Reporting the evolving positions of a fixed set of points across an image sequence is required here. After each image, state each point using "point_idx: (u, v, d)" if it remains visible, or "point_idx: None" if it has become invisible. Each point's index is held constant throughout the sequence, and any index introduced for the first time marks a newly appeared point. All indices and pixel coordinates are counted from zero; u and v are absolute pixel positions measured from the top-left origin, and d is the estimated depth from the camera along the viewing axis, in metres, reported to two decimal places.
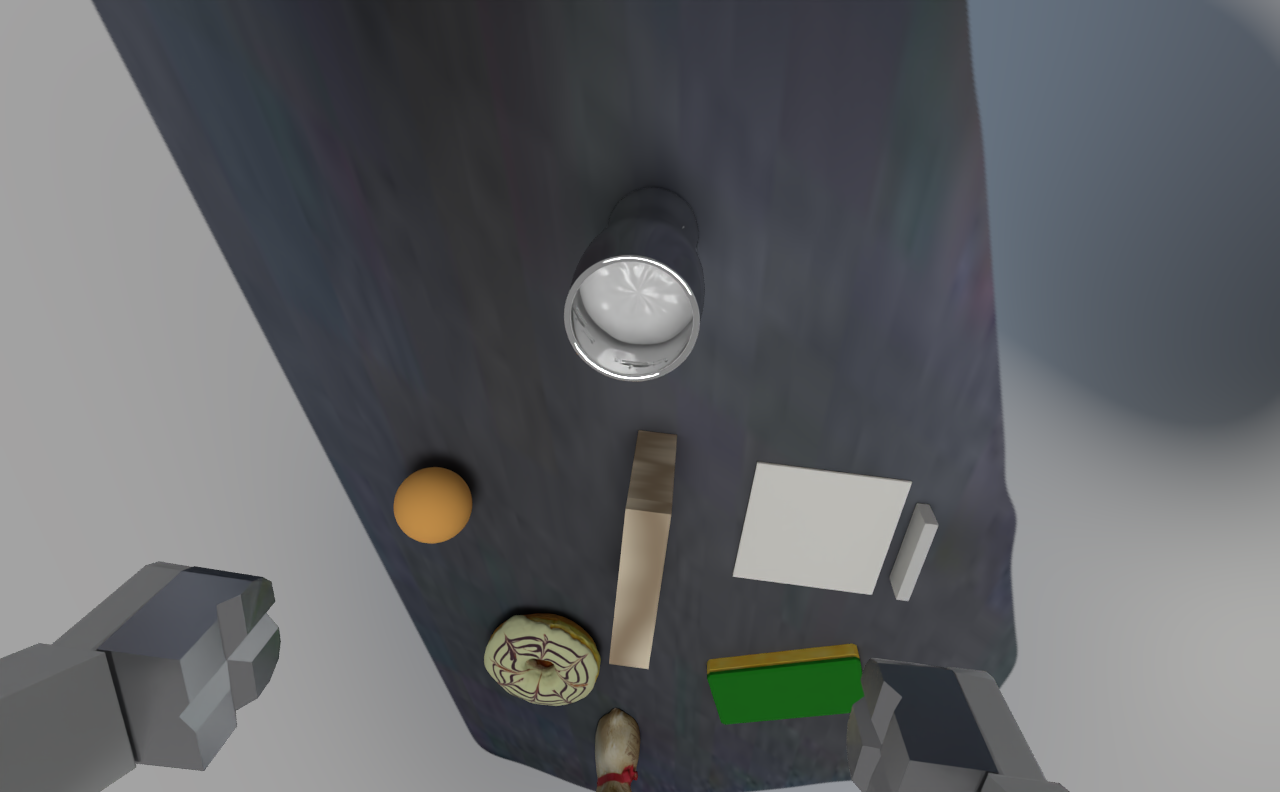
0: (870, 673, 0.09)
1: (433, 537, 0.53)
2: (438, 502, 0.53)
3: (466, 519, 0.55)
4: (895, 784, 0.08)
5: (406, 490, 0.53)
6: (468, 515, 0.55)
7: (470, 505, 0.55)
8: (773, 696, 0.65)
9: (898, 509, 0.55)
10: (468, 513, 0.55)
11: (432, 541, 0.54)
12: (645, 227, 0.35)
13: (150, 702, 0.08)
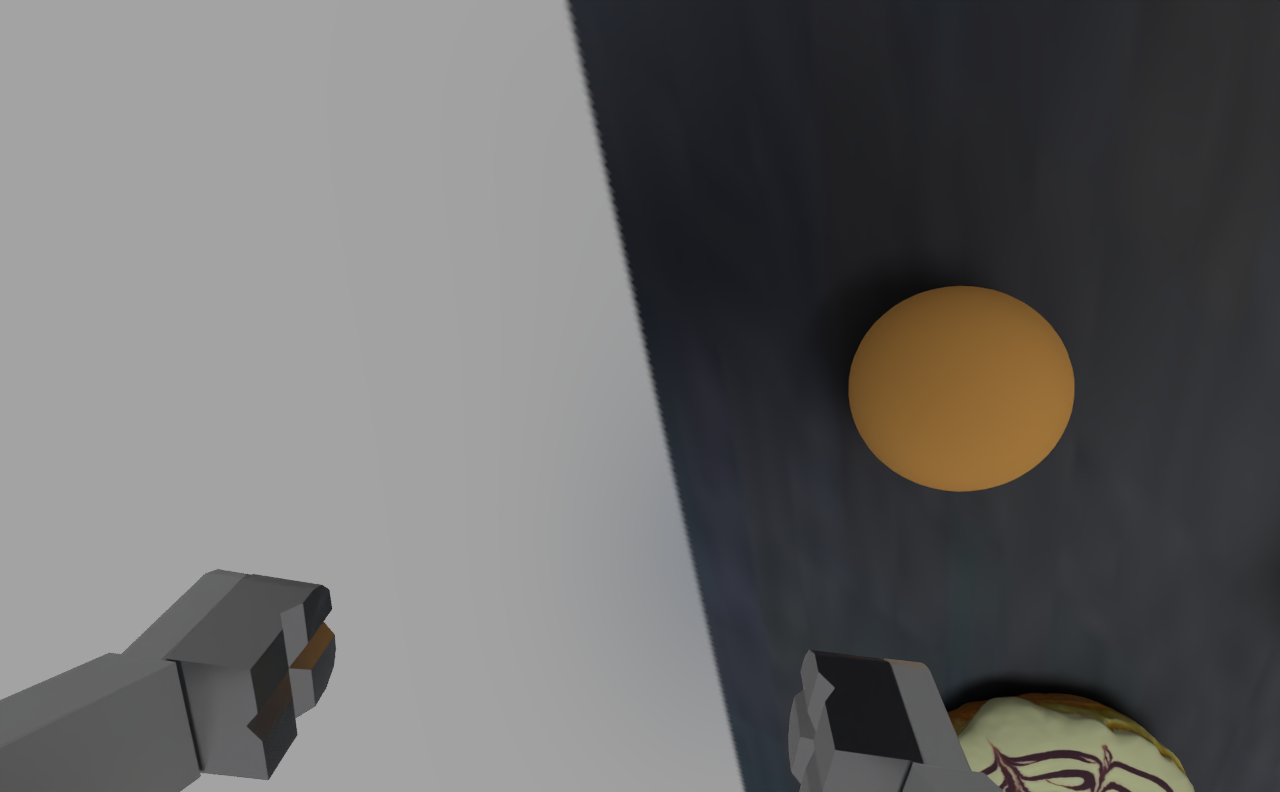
0: (808, 665, 0.09)
1: (1015, 462, 0.18)
2: (1046, 354, 0.18)
3: None
4: (823, 774, 0.08)
5: (939, 325, 0.18)
6: None
7: None
8: None
9: None
10: None
11: (993, 479, 0.19)
12: None
13: (218, 712, 0.08)
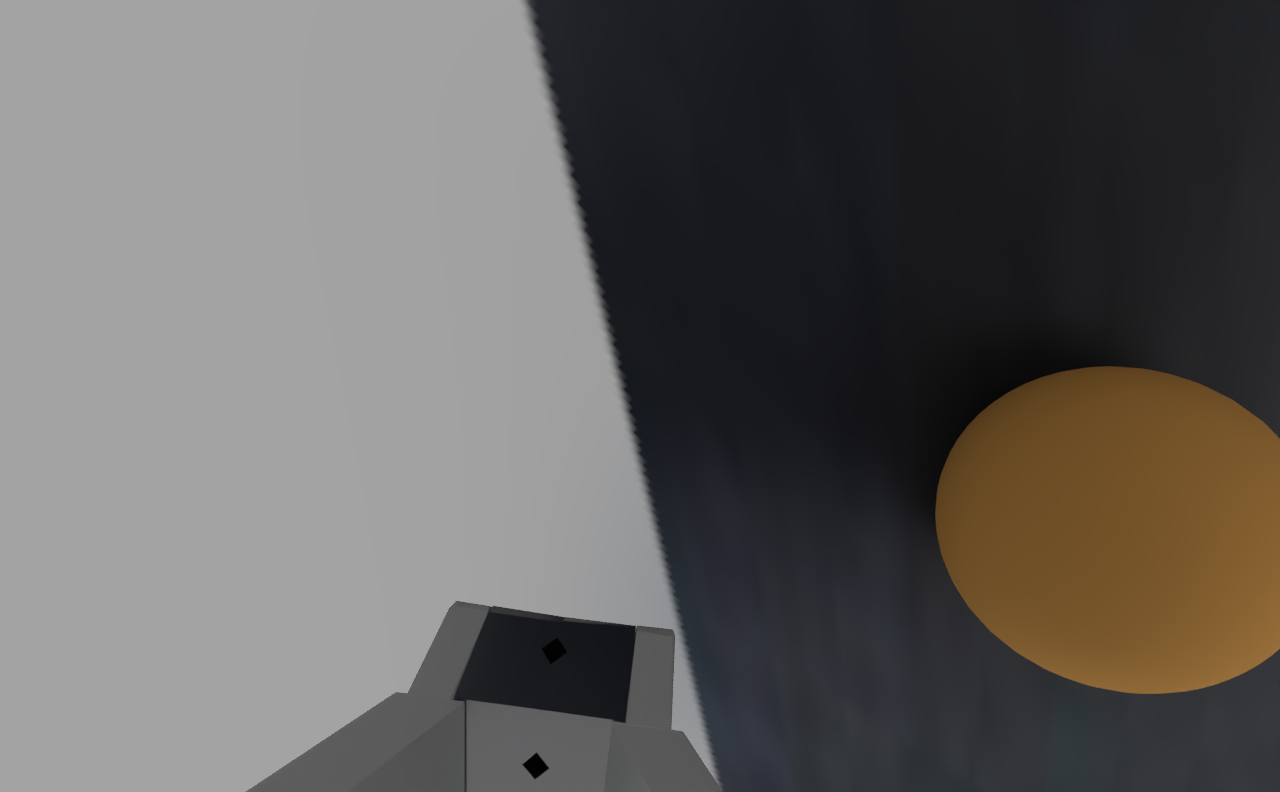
0: None
1: (1233, 671, 0.11)
2: None
3: None
4: (539, 735, 0.08)
5: (1109, 446, 0.11)
6: None
7: None
8: None
9: None
10: None
11: (1187, 689, 0.12)
12: None
13: (496, 750, 0.08)
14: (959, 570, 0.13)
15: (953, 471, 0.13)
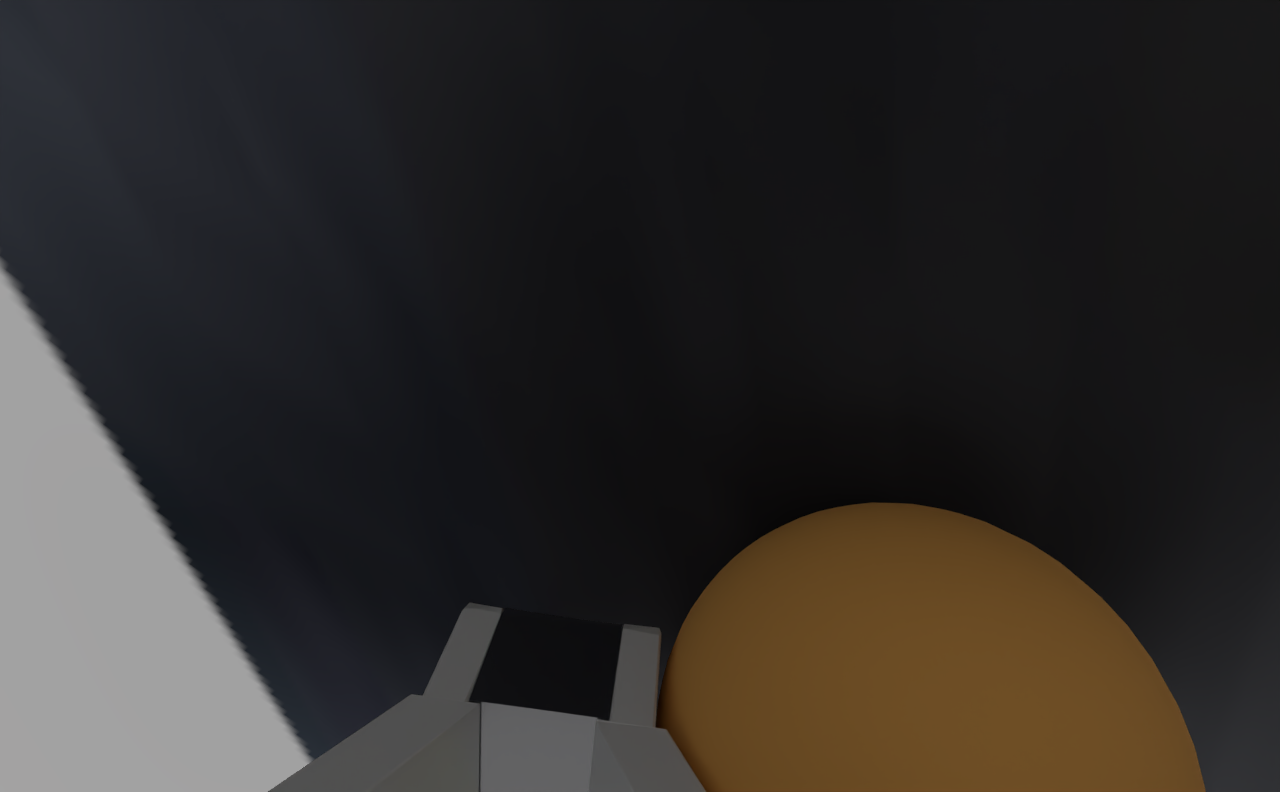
0: None
1: None
2: (1176, 750, 0.06)
3: None
4: (523, 733, 0.08)
5: (912, 782, 0.06)
6: None
7: None
8: None
9: None
10: None
11: None
12: None
13: (511, 752, 0.08)
14: None
15: None
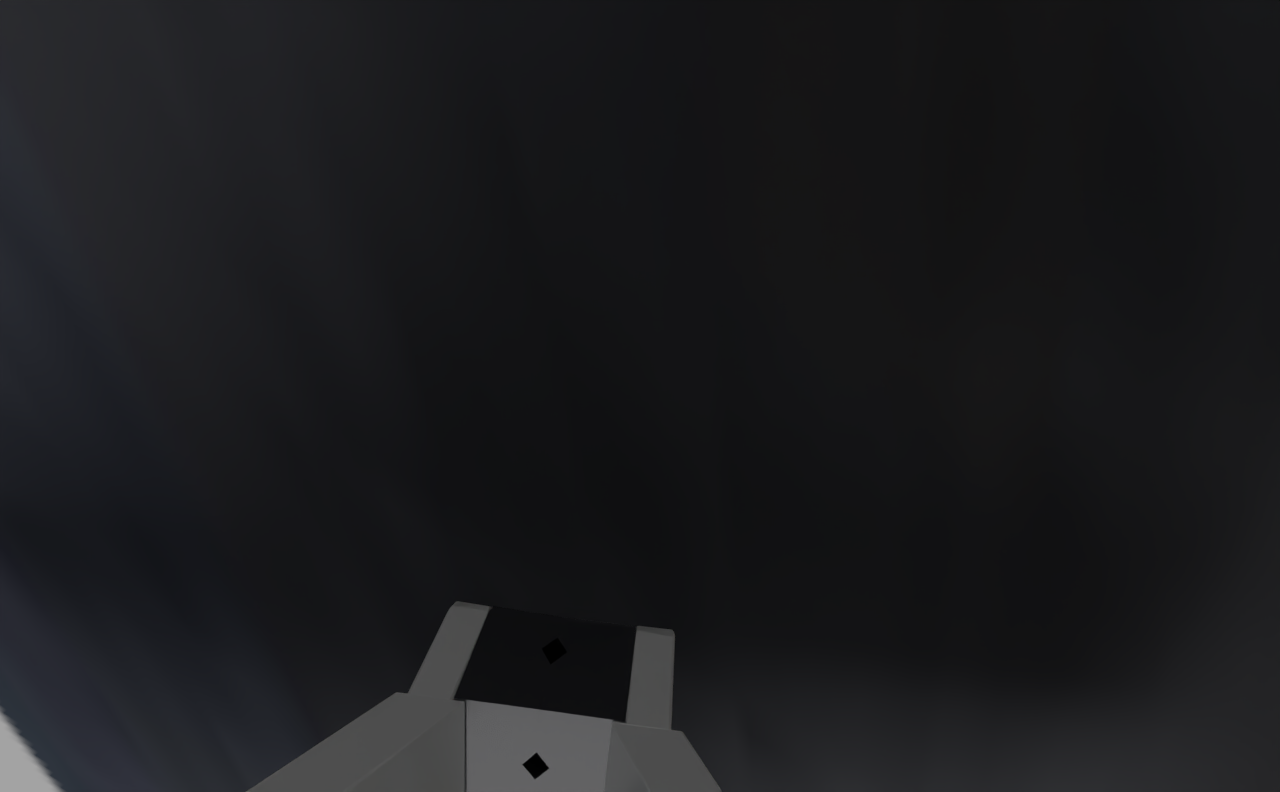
0: None
1: None
2: None
3: None
4: (539, 735, 0.08)
5: None
6: None
7: None
8: None
9: None
10: None
11: None
12: None
13: (496, 750, 0.08)
14: None
15: None
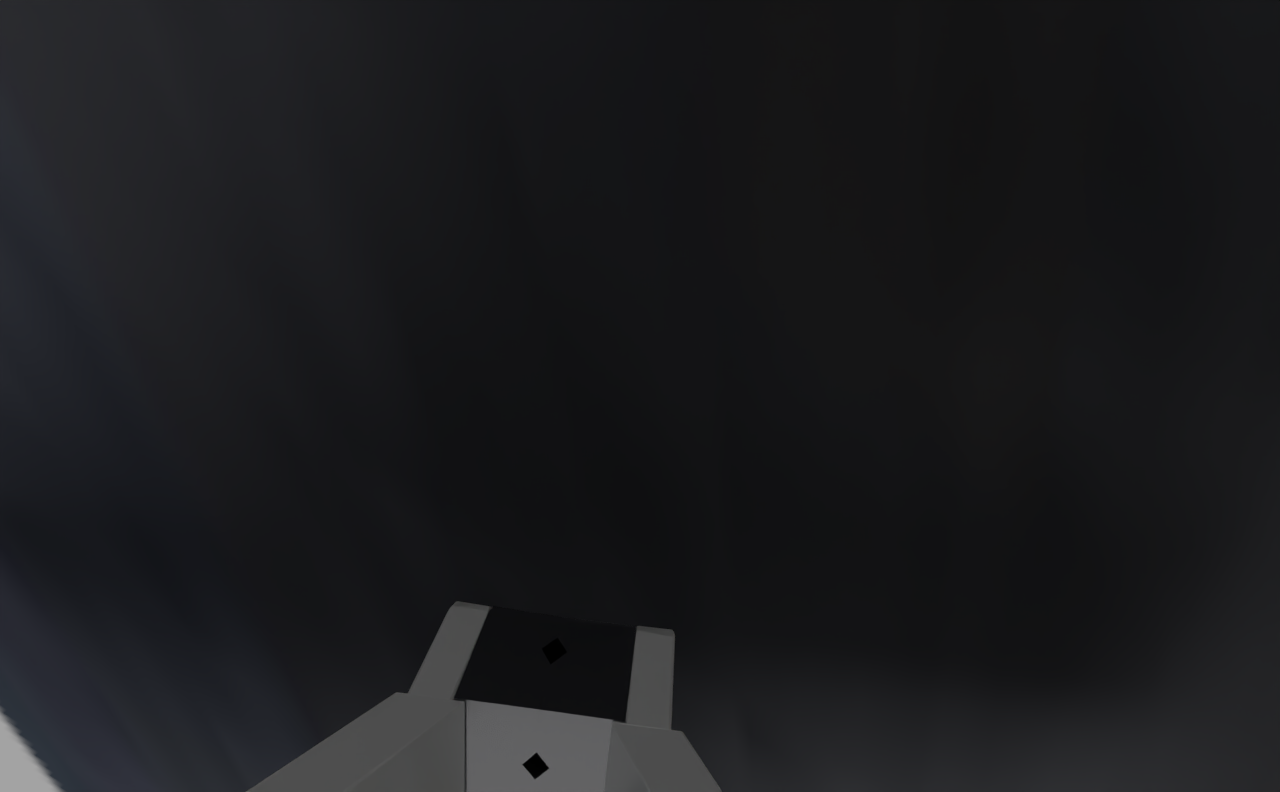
0: None
1: None
2: None
3: None
4: (539, 735, 0.08)
5: None
6: None
7: None
8: None
9: None
10: None
11: None
12: None
13: (496, 750, 0.08)
14: None
15: None
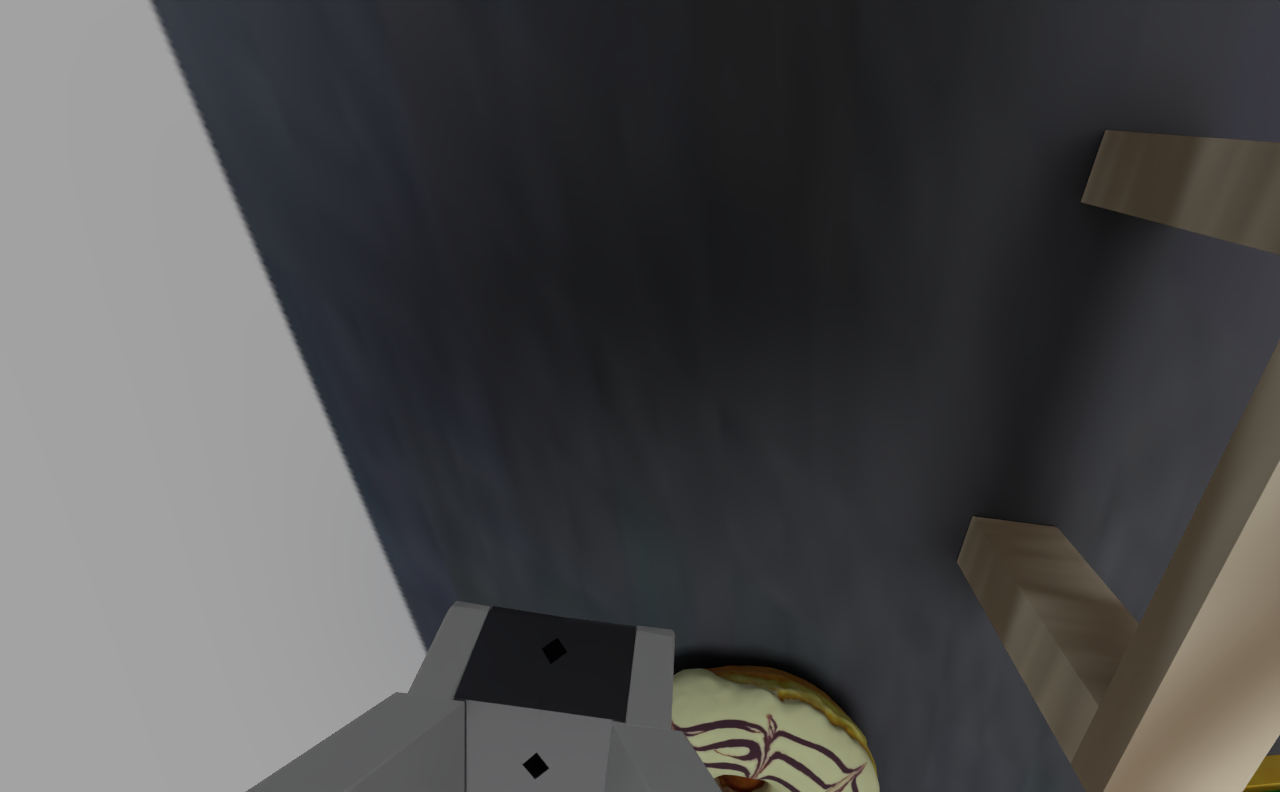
0: None
1: None
2: None
3: None
4: (539, 735, 0.08)
5: None
6: None
7: None
8: None
9: None
10: None
11: None
12: None
13: (496, 750, 0.08)
14: None
15: None
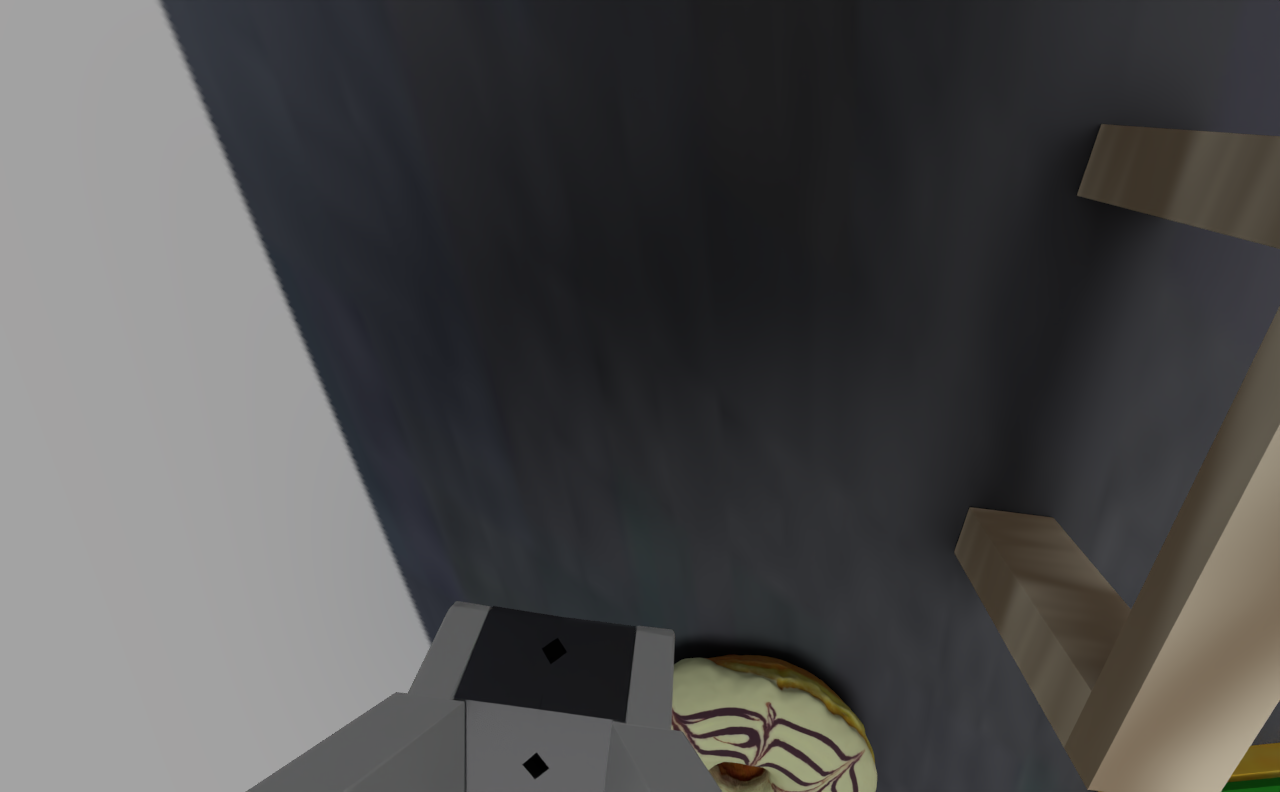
0: None
1: None
2: None
3: None
4: (539, 735, 0.08)
5: None
6: None
7: None
8: None
9: None
10: None
11: None
12: None
13: (496, 750, 0.08)
14: None
15: None
